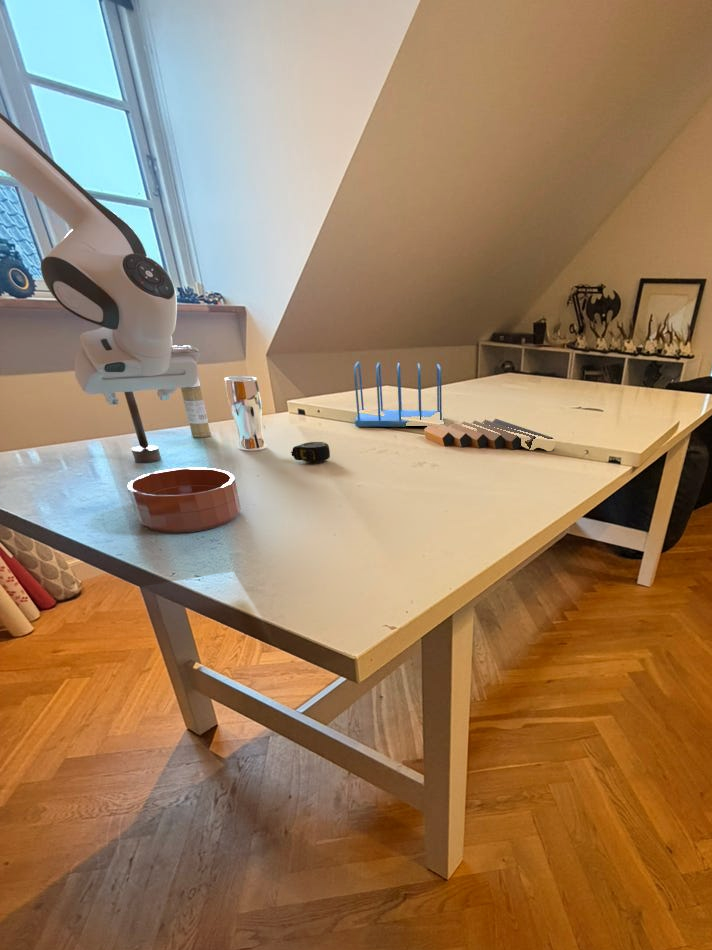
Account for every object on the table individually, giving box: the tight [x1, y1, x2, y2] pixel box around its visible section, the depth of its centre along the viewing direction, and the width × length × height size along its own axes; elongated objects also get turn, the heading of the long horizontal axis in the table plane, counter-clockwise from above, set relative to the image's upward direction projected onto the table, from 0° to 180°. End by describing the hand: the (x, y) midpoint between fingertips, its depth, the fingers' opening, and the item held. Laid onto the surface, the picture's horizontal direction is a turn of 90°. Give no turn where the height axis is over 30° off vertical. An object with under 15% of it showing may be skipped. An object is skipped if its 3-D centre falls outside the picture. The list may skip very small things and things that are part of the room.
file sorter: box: [353, 361, 443, 428], centre depth 155 cm, size 25×17×15 cm
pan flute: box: [423, 418, 554, 451], centre depth 140 cm, size 25×3×25 cm
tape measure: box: [290, 441, 331, 463], centre depth 119 cm, size 7×7×4 cm
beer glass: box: [224, 375, 268, 452], centre depth 124 cm, size 7×7×15 cm
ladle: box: [123, 391, 162, 464], centre depth 111 cm, size 5×5×16 cm
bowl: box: [127, 467, 242, 534], centre depth 87 cm, size 15×15×6 cm
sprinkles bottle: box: [180, 377, 212, 438], centre depth 132 cm, size 5×5×14 cm
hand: (138, 399), depth 107 cm, fingers open, 8 cm apart
